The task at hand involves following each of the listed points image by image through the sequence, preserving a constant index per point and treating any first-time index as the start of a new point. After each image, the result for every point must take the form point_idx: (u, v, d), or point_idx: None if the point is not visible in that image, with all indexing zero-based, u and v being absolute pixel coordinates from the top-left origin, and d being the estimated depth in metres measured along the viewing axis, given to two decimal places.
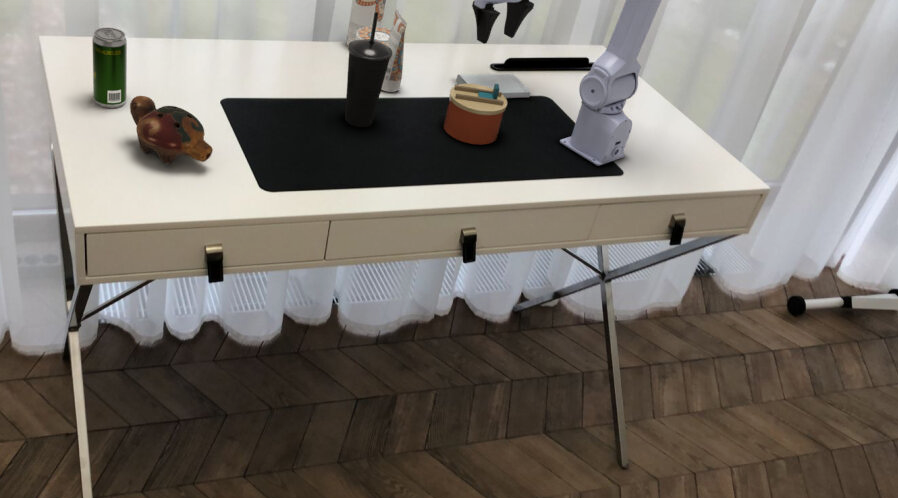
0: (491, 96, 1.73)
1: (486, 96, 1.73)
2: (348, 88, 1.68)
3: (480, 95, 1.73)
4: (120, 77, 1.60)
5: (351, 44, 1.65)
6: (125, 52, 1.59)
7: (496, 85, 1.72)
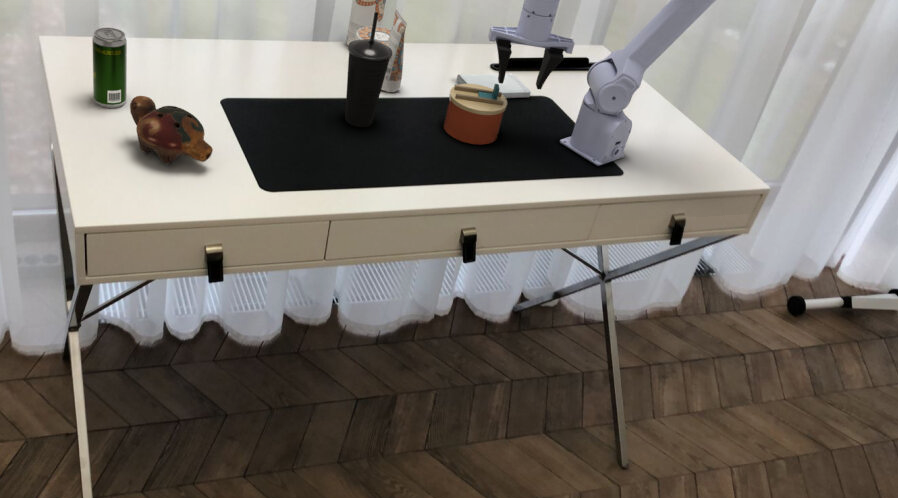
0: (491, 96, 1.73)
1: (486, 96, 1.73)
2: (348, 88, 1.68)
3: (480, 95, 1.73)
4: (120, 77, 1.60)
5: (351, 44, 1.65)
6: (125, 52, 1.59)
7: (496, 85, 1.72)
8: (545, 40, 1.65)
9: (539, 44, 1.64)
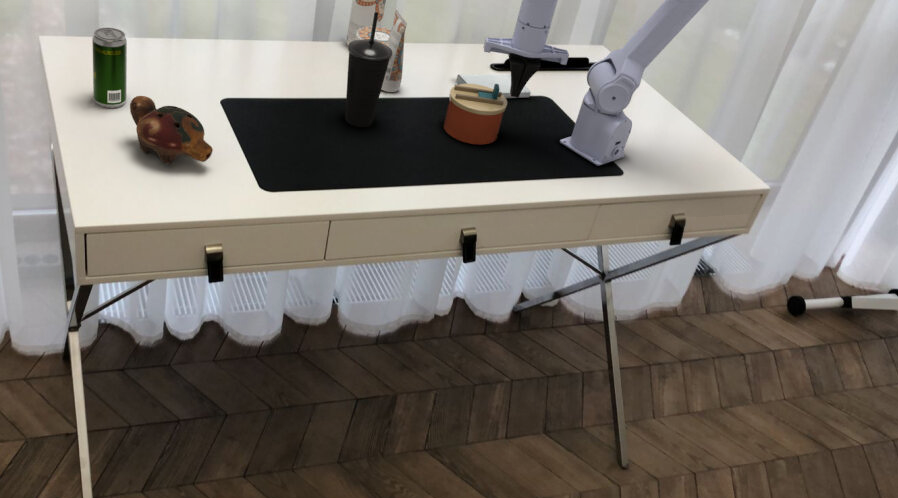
0: (491, 96, 1.73)
1: (486, 96, 1.73)
2: (348, 88, 1.68)
3: (480, 95, 1.73)
4: (120, 77, 1.60)
5: (351, 44, 1.65)
6: (125, 52, 1.59)
7: (496, 85, 1.72)
8: (540, 51, 1.66)
9: (534, 55, 1.65)
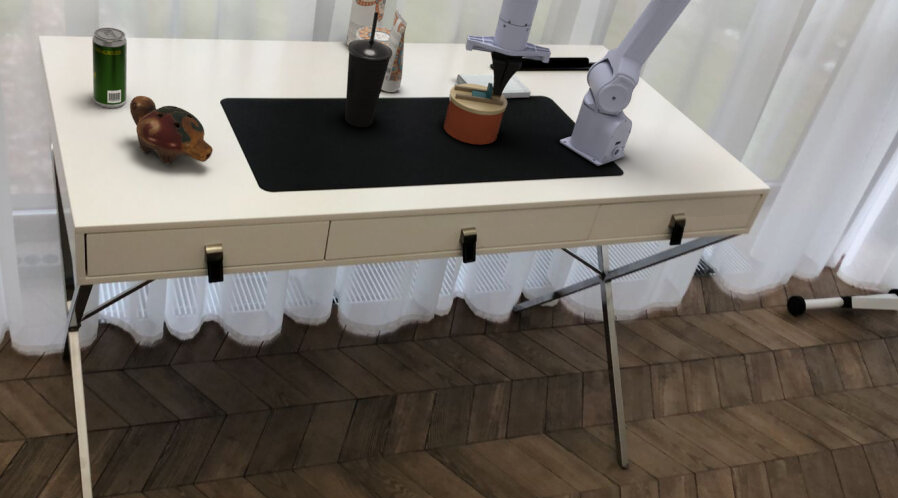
0: (485, 95, 1.73)
1: (480, 95, 1.73)
2: (348, 88, 1.68)
3: (474, 94, 1.72)
4: (120, 77, 1.60)
5: (351, 44, 1.65)
6: (125, 52, 1.59)
7: (490, 84, 1.72)
8: (521, 49, 1.66)
9: (515, 53, 1.65)
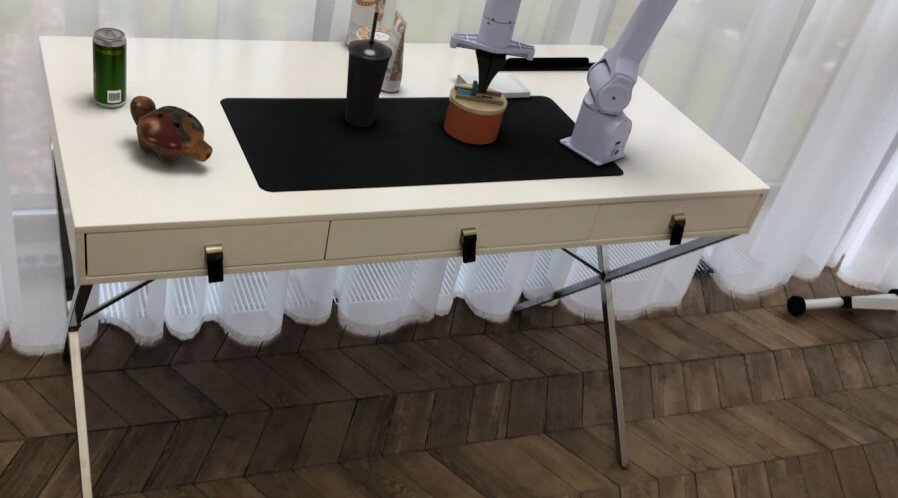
0: (470, 93, 1.73)
1: (465, 93, 1.72)
2: (348, 88, 1.68)
3: (459, 92, 1.72)
4: (120, 77, 1.60)
5: (351, 44, 1.65)
6: (125, 52, 1.59)
7: (475, 82, 1.72)
8: (505, 47, 1.65)
9: (499, 51, 1.65)
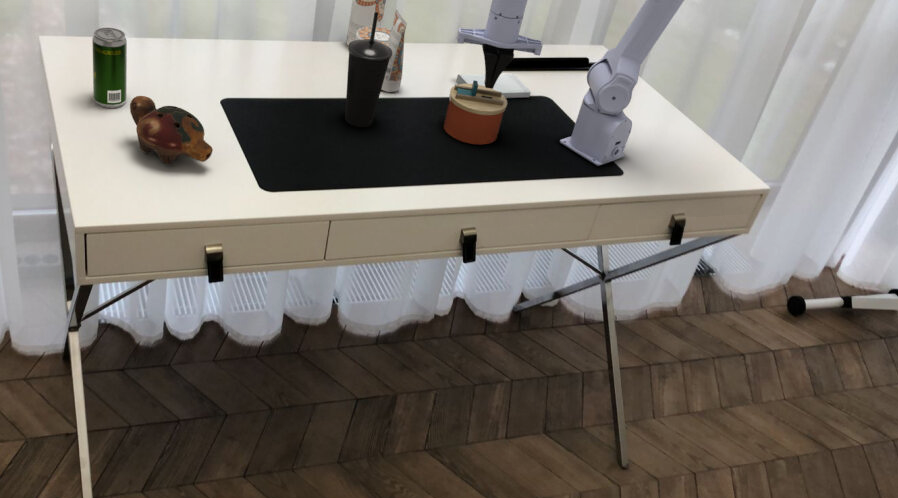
0: (470, 93, 1.73)
1: (465, 93, 1.72)
2: (348, 88, 1.68)
3: (459, 92, 1.72)
4: (120, 77, 1.60)
5: (351, 44, 1.65)
6: (125, 52, 1.59)
7: (475, 82, 1.72)
8: (513, 42, 1.65)
9: (507, 46, 1.64)
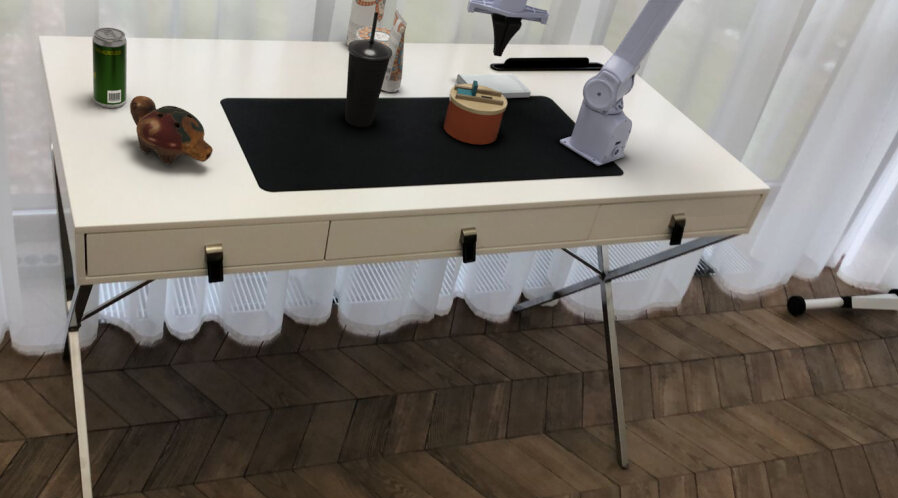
0: (470, 93, 1.73)
1: (465, 93, 1.72)
2: (348, 88, 1.68)
3: (459, 92, 1.72)
4: (120, 77, 1.60)
5: (351, 44, 1.65)
6: (125, 52, 1.59)
7: (475, 82, 1.72)
8: (521, 11, 1.73)
9: (515, 15, 1.73)
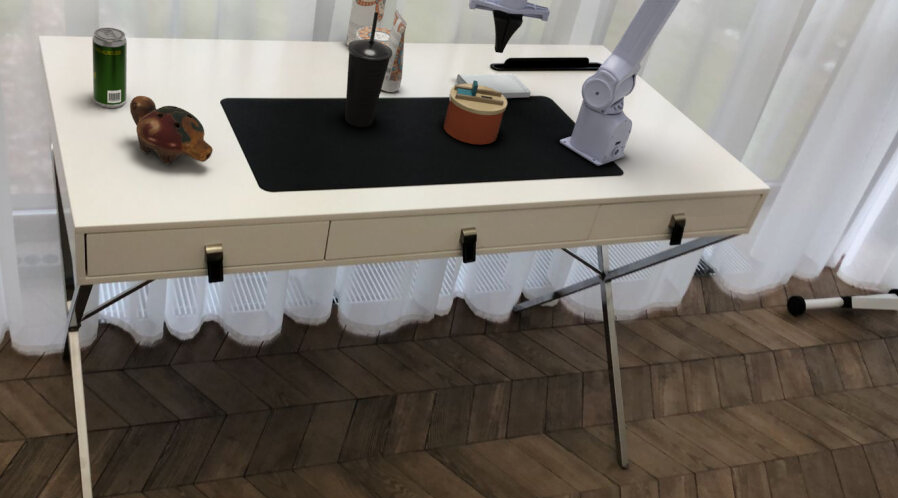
0: (470, 93, 1.73)
1: (465, 93, 1.72)
2: (348, 88, 1.68)
3: (459, 92, 1.72)
4: (120, 77, 1.60)
5: (351, 44, 1.65)
6: (125, 52, 1.59)
7: (475, 82, 1.72)
8: (522, 8, 1.75)
9: (516, 11, 1.75)
